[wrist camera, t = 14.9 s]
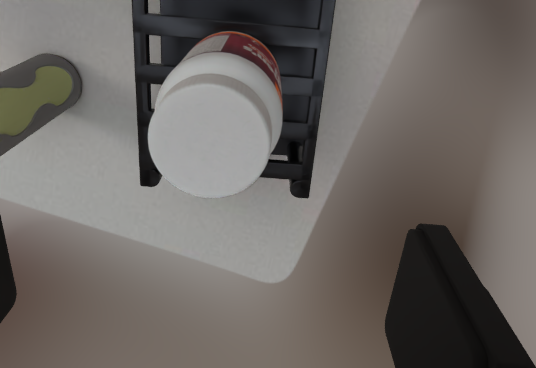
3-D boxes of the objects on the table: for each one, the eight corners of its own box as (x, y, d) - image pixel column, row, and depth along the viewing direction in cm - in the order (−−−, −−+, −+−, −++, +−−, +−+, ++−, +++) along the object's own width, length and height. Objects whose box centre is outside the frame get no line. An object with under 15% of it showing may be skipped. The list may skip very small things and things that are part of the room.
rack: (322, -50, 36) (343, -52, 26) (299, 142, 43) (308, 198, 33) (167, -64, 35) (127, -72, 25) (170, 132, 42) (140, 186, 32)
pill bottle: (298, 95, 29) (312, 167, 19) (219, 142, 31) (194, 232, 21) (245, 8, 27) (230, 38, 17) (162, 64, 29) (104, 122, 18)
